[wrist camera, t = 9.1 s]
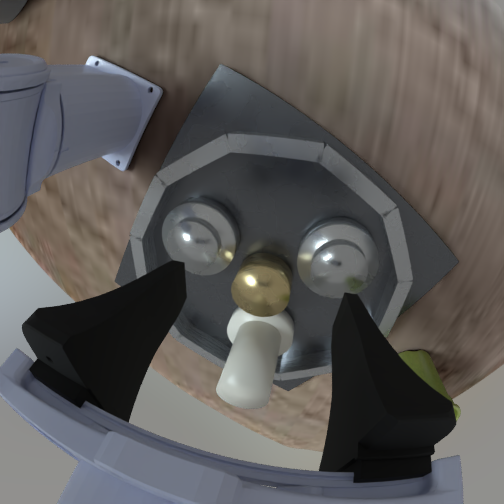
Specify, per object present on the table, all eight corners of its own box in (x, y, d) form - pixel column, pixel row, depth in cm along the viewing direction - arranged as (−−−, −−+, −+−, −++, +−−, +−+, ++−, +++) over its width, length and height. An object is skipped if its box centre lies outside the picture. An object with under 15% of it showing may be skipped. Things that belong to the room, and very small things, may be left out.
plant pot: (422, 323, 23) (442, 394, 15) (453, 360, 24) (470, 418, 17) (352, 368, 27) (352, 436, 20) (393, 395, 29) (397, 452, 21)
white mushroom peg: (219, 311, 26) (188, 377, 19) (274, 291, 23) (254, 365, 16) (252, 352, 27) (232, 416, 21) (305, 337, 25) (296, 410, 18)
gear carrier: (119, 276, 28) (101, 294, 25) (225, 65, 16) (207, 57, 13) (289, 384, 31) (285, 408, 28) (454, 255, 19) (470, 278, 16)
